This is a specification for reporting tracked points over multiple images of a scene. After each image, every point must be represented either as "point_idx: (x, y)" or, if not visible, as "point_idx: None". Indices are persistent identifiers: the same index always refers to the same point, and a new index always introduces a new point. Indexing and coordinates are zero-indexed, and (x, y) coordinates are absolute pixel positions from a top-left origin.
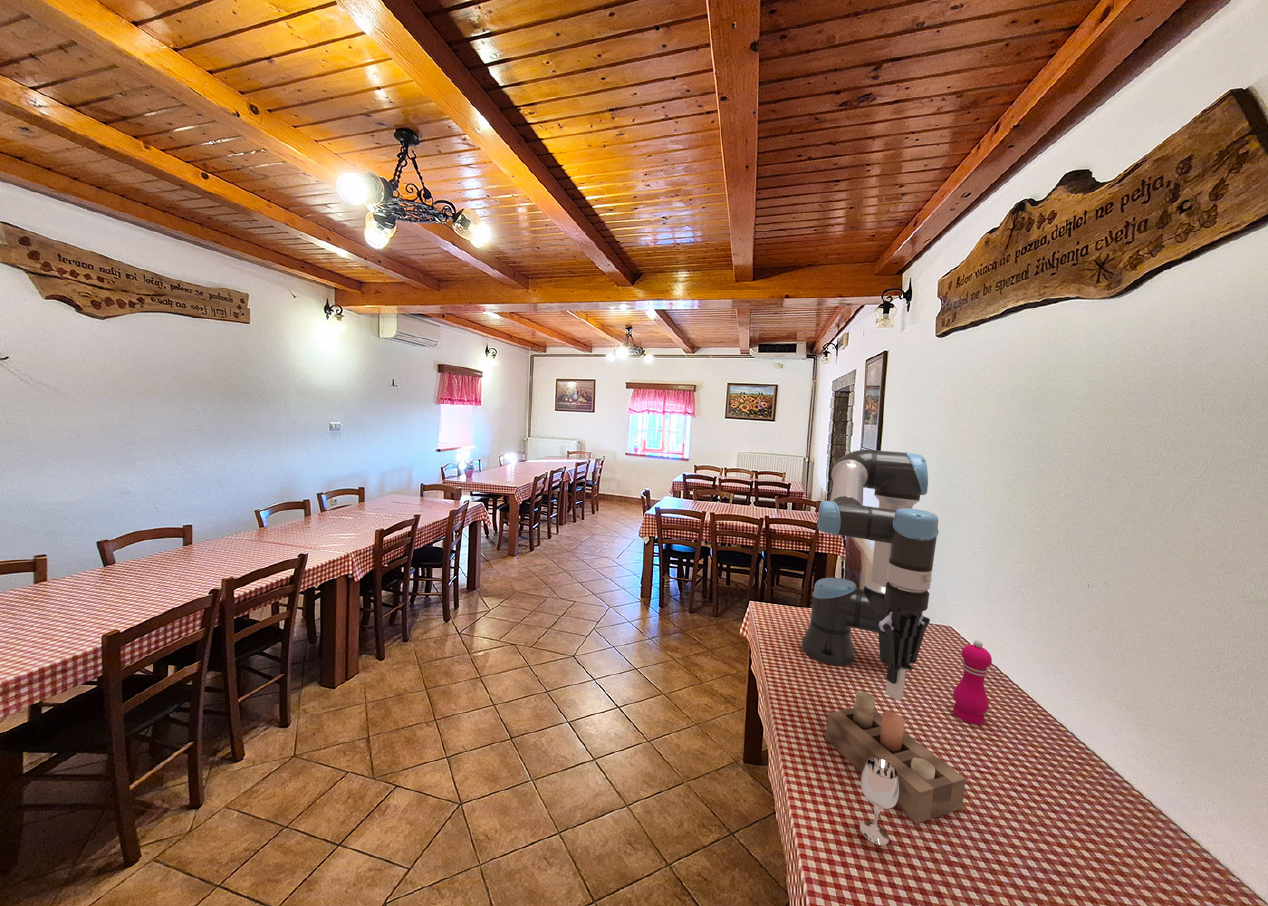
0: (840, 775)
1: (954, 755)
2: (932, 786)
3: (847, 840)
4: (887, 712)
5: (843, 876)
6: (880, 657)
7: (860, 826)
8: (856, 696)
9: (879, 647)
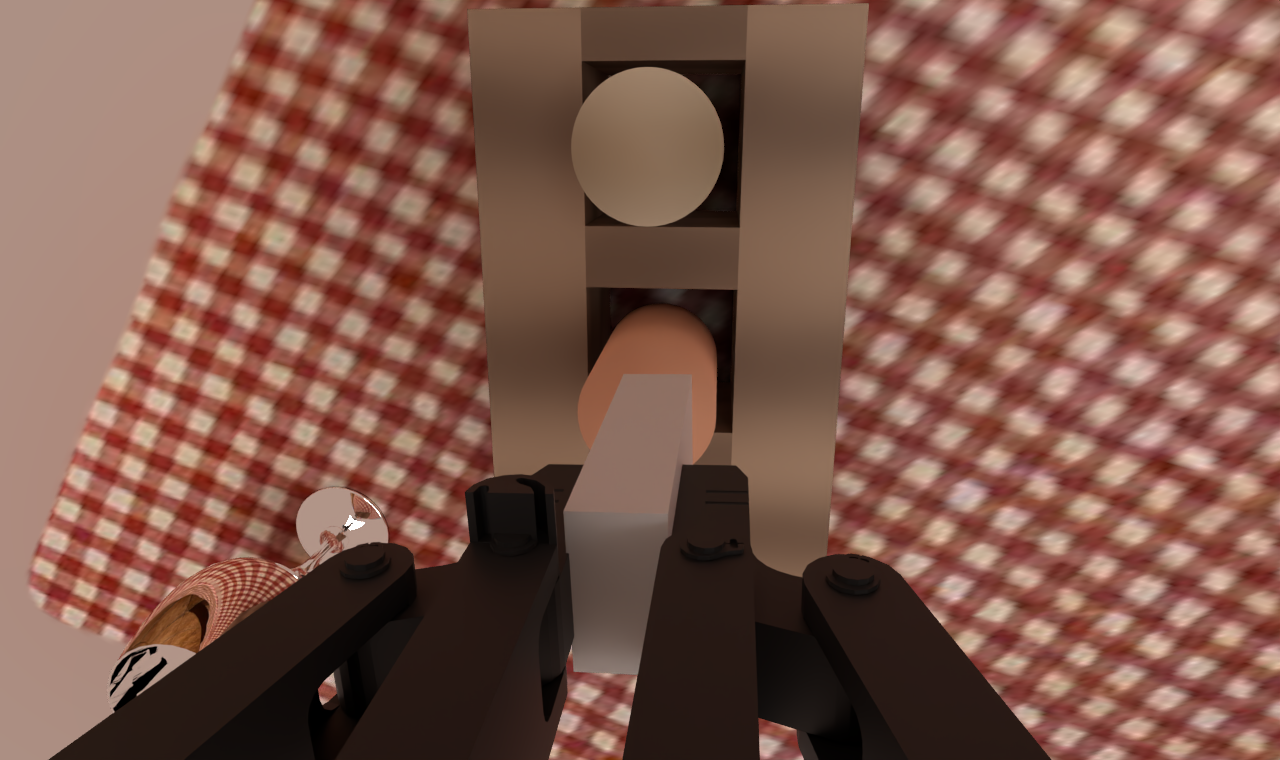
0: (411, 278)
1: (1162, 348)
2: None
3: (225, 519)
4: (651, 360)
5: (134, 599)
6: (293, 591)
7: (306, 501)
8: (578, 115)
9: (120, 710)
